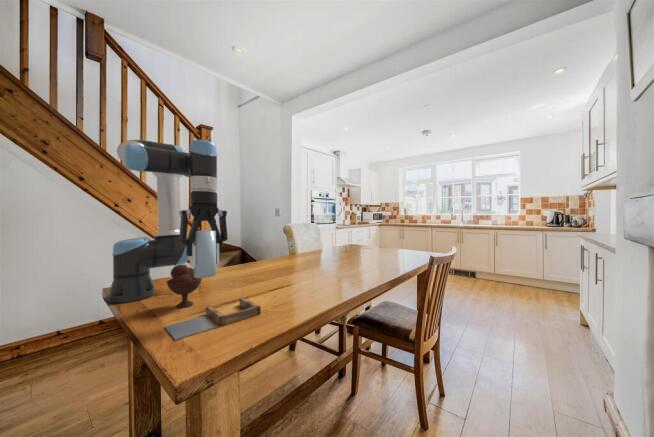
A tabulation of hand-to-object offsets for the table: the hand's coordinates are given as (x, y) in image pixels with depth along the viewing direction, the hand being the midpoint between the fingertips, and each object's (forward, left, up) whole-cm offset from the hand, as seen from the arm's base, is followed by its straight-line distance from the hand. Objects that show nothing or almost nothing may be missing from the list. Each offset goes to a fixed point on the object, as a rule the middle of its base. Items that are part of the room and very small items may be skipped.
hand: (204, 264), depth 79 cm
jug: (-1, 0, -3) cm, 4 cm away
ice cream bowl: (-18, -1, -17) cm, 25 cm away
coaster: (+3, -5, -17) cm, 18 cm away
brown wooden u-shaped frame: (+2, +8, -17) cm, 19 cm away
